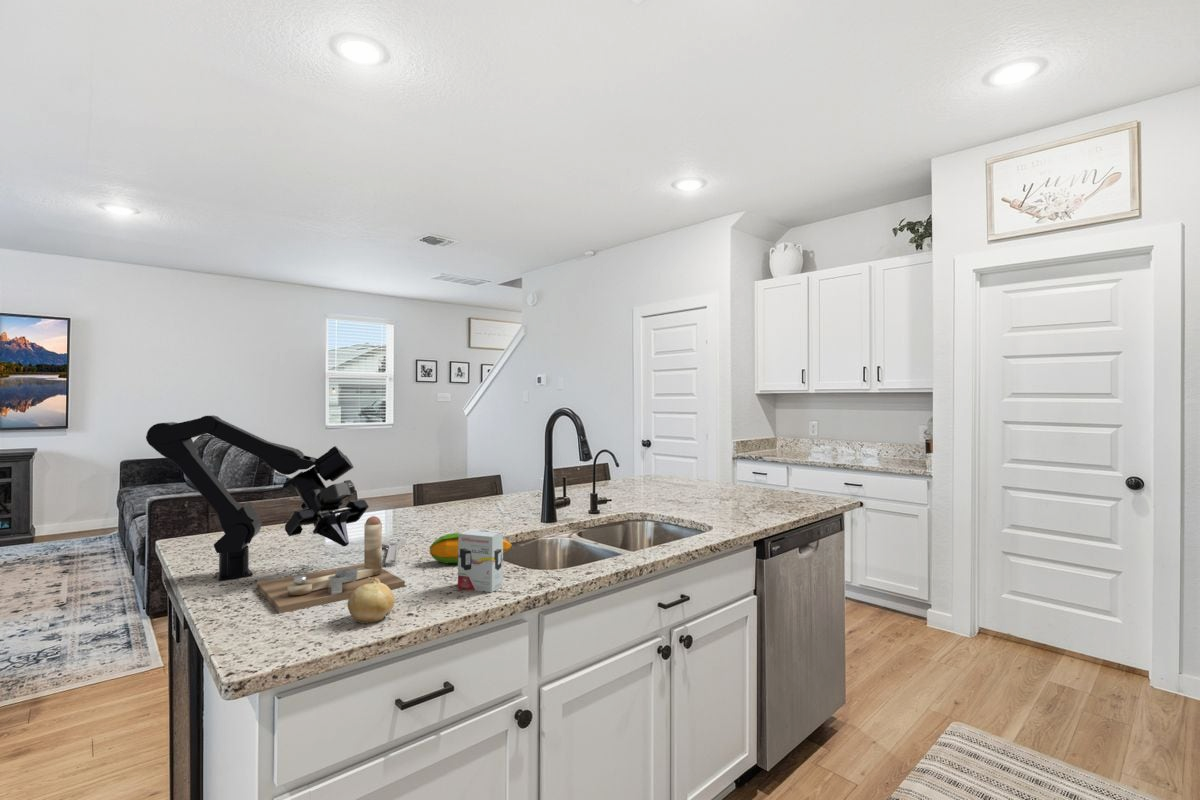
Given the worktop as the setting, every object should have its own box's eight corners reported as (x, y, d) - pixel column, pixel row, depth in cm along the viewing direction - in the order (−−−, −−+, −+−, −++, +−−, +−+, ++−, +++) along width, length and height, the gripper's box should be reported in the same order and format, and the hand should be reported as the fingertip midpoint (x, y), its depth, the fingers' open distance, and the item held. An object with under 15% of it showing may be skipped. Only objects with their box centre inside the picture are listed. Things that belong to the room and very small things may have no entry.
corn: (429, 529, 145) (509, 525, 150) (429, 559, 146) (509, 553, 151) (429, 538, 138) (513, 533, 143) (429, 569, 138) (513, 563, 144)
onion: (402, 618, 105) (402, 579, 105) (358, 630, 100) (358, 589, 100) (383, 608, 111) (383, 570, 111) (340, 618, 105) (340, 579, 105)
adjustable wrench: (396, 568, 139) (396, 561, 139) (368, 570, 138) (368, 563, 138) (407, 544, 164) (407, 537, 164) (383, 545, 162) (383, 539, 162)
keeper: (292, 593, 116) (292, 577, 116) (354, 581, 124) (354, 566, 124) (302, 602, 110) (303, 586, 110) (367, 589, 118) (367, 573, 118)
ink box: (456, 588, 123) (456, 532, 123) (469, 582, 127) (469, 528, 127) (491, 593, 120) (491, 535, 120) (503, 586, 124) (503, 531, 124)
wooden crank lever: (294, 596, 113) (294, 532, 113) (283, 592, 115) (283, 529, 115) (386, 573, 129) (386, 516, 129) (374, 569, 131) (375, 514, 131)
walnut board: (256, 588, 123) (256, 582, 123) (371, 567, 139) (371, 562, 139) (279, 613, 108) (279, 606, 108) (404, 586, 124) (404, 581, 124)
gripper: (293, 474, 125) (327, 530, 120) (363, 466, 142) (396, 514, 137) (270, 508, 129) (302, 563, 124) (341, 496, 146) (372, 544, 141)
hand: (346, 545), depth 131 cm, fingers closed
